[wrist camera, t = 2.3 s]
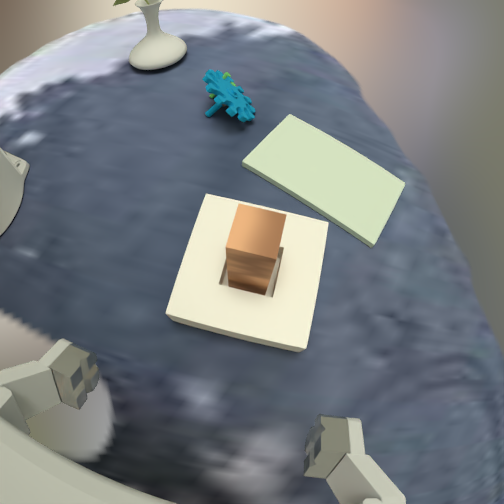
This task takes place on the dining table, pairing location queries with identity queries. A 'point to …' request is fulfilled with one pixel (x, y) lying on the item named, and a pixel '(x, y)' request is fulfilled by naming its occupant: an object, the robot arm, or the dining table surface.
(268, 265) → the peg
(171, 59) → the flower in vase
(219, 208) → the socket block
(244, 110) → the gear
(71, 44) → the dining table surface
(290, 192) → the mat
